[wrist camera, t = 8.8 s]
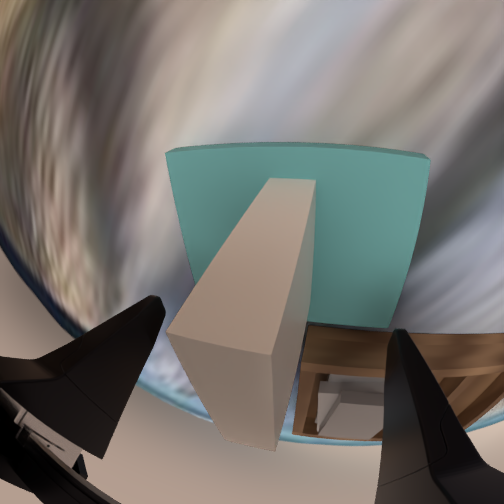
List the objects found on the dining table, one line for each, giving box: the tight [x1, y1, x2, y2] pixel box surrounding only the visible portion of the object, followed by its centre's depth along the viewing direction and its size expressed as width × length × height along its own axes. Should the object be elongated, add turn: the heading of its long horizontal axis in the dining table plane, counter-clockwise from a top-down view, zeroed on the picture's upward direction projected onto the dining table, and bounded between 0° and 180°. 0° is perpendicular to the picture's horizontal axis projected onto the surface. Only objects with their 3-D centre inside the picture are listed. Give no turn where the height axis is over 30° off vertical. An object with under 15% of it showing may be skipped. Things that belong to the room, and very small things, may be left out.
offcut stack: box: [315, 374, 385, 440], centre depth 18 cm, size 6×11×3 cm, turn 5°
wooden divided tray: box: [292, 325, 504, 441], centre depth 17 cm, size 20×15×3 cm
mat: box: [165, 142, 430, 328], centre depth 14 cm, size 12×10×1 cm
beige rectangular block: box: [166, 178, 316, 451], centre depth 10 cm, size 2×7×8 cm, turn 5°
